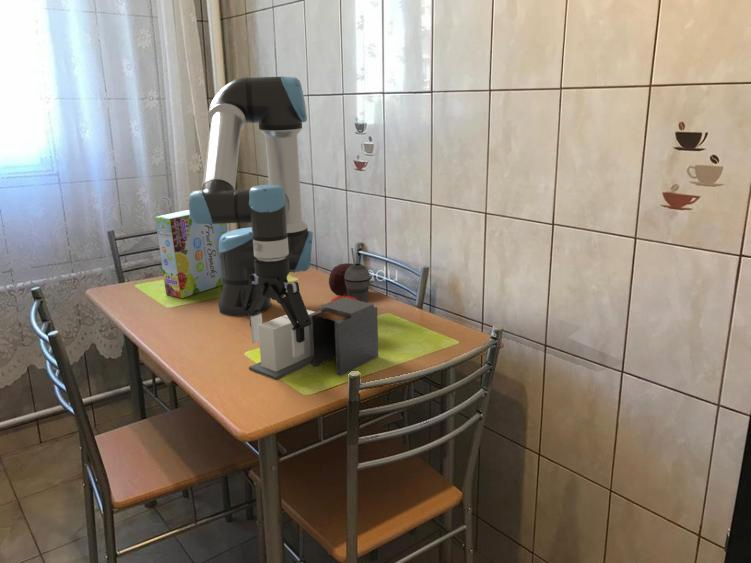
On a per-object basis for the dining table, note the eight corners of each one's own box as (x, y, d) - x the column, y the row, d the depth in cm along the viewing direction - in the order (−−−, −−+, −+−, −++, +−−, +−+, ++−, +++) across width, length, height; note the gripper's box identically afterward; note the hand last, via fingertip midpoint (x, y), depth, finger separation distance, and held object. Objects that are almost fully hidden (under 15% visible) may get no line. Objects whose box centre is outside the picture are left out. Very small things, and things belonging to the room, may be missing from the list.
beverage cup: (368, 323, 170) (366, 251, 164) (342, 321, 172) (339, 251, 166) (373, 314, 177) (372, 245, 171) (348, 313, 178) (346, 244, 173)
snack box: (216, 278, 216) (209, 204, 209) (233, 282, 211) (227, 206, 204) (163, 294, 199) (153, 215, 192) (180, 299, 194) (171, 217, 187)
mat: (249, 369, 142) (248, 366, 142) (299, 347, 154) (299, 345, 154) (275, 379, 137) (275, 377, 137) (326, 356, 149) (326, 354, 149)
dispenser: (311, 365, 144) (308, 310, 140) (349, 347, 154) (347, 295, 150) (340, 375, 138) (338, 318, 134) (378, 356, 148) (377, 303, 144)
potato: (376, 295, 194) (375, 263, 191) (339, 304, 186) (338, 270, 184) (357, 287, 202) (356, 256, 199) (321, 295, 195) (320, 263, 192)
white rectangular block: (261, 366, 143) (258, 324, 140) (304, 347, 153) (302, 308, 150) (276, 371, 139) (273, 329, 137) (319, 351, 150) (317, 312, 147)
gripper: (221, 252, 141) (229, 340, 147) (298, 269, 126) (304, 366, 132) (247, 246, 146) (254, 331, 152) (324, 261, 131) (328, 355, 137)
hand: (277, 348), depth 142 cm, fingers open, 13 cm apart
